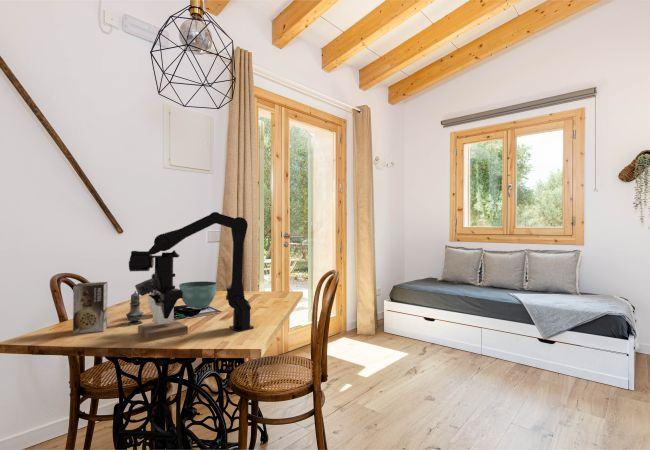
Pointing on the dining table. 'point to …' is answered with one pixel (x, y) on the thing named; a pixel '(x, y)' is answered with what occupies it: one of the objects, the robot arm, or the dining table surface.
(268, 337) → the dining table surface
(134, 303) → the salt shaker
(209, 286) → the teal bowl
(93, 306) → the coffee box
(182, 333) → the walnut block
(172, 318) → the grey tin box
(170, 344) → the dining table surface
